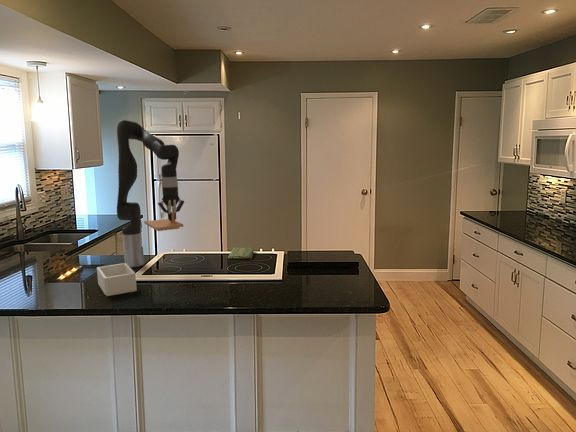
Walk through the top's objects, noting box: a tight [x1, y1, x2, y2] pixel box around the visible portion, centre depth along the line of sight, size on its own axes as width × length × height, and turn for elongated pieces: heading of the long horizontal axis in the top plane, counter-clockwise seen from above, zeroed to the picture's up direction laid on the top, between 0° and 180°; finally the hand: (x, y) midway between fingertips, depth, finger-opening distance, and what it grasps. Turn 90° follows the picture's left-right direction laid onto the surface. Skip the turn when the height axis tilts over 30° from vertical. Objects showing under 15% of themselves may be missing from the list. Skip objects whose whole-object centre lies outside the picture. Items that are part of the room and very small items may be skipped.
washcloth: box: [227, 247, 255, 260], centre depth 272 cm, size 13×18×3 cm
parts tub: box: [96, 262, 138, 297], centre depth 221 cm, size 13×20×8 cm, turn 30°
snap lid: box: [144, 210, 184, 232], centre depth 242 cm, size 14×21×7 cm, turn 30°
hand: (172, 220), depth 244 cm, fingers closed on snap lid, 1 cm apart
